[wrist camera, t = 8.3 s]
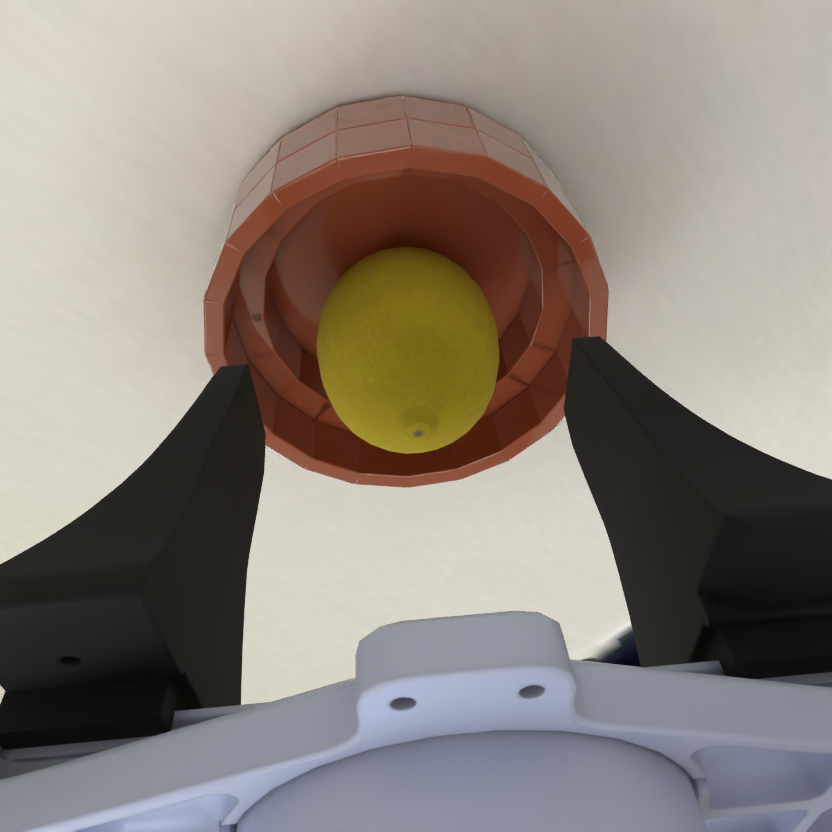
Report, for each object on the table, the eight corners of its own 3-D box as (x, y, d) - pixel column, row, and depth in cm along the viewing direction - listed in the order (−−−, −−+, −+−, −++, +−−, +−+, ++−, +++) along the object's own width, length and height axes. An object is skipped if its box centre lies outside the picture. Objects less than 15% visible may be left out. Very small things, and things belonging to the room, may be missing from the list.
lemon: (312, 336, 26) (303, 496, 20) (331, 193, 22) (326, 334, 16) (457, 354, 27) (490, 511, 21) (497, 219, 23) (550, 362, 17)
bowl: (642, 198, 24) (693, 264, 20) (461, 441, 31) (476, 521, 27) (305, 12, 20) (296, 56, 16) (179, 342, 26) (154, 424, 23)
